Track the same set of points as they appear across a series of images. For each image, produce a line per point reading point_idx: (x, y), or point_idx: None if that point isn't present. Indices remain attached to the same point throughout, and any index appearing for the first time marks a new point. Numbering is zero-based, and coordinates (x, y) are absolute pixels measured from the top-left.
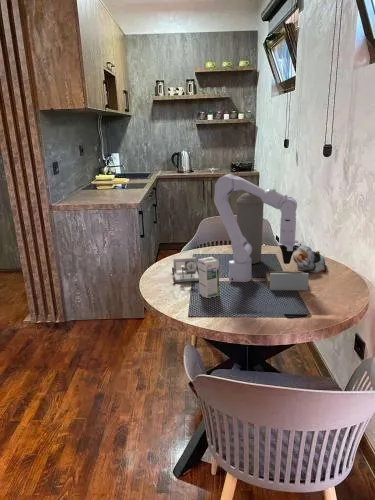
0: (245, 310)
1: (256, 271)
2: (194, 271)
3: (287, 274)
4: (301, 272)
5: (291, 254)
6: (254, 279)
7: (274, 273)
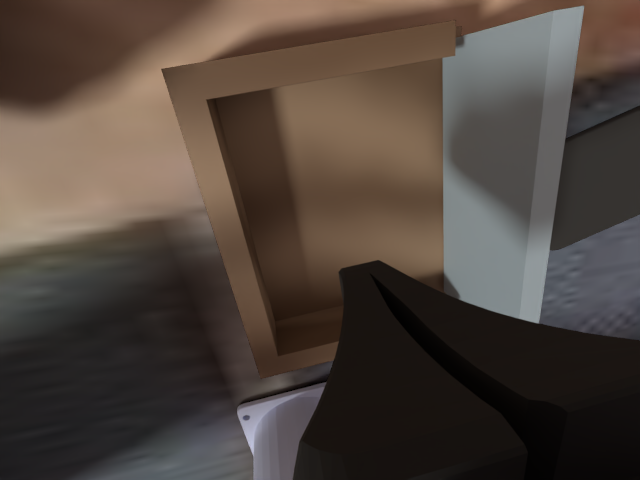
0: (624, 335)
1: (110, 405)
2: None
3: (546, 237)
4: (213, 90)
5: (495, 322)
6: (262, 383)
7: None
